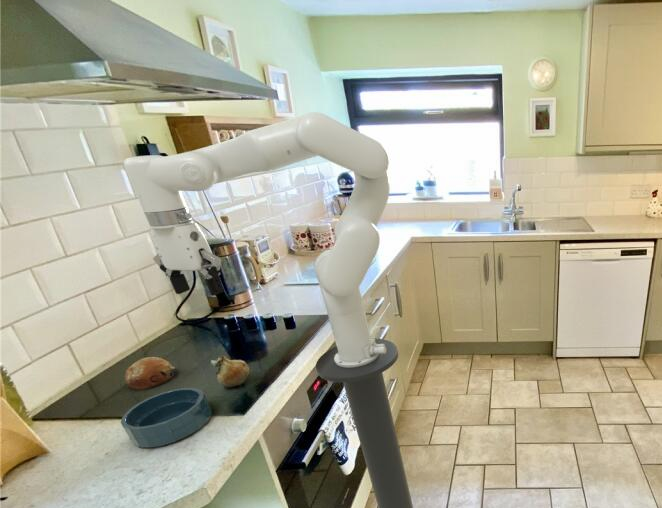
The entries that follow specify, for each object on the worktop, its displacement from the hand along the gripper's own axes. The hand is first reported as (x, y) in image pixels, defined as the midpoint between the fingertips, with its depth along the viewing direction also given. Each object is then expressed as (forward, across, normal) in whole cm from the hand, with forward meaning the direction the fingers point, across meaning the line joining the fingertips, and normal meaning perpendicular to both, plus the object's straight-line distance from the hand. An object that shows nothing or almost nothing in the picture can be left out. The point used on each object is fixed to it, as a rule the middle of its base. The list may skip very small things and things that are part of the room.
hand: (200, 292), depth 97 cm
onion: (+25, 0, +1) cm, 25 cm away
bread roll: (+25, +25, +2) cm, 35 cm away
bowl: (+25, 0, +18) cm, 31 cm away
